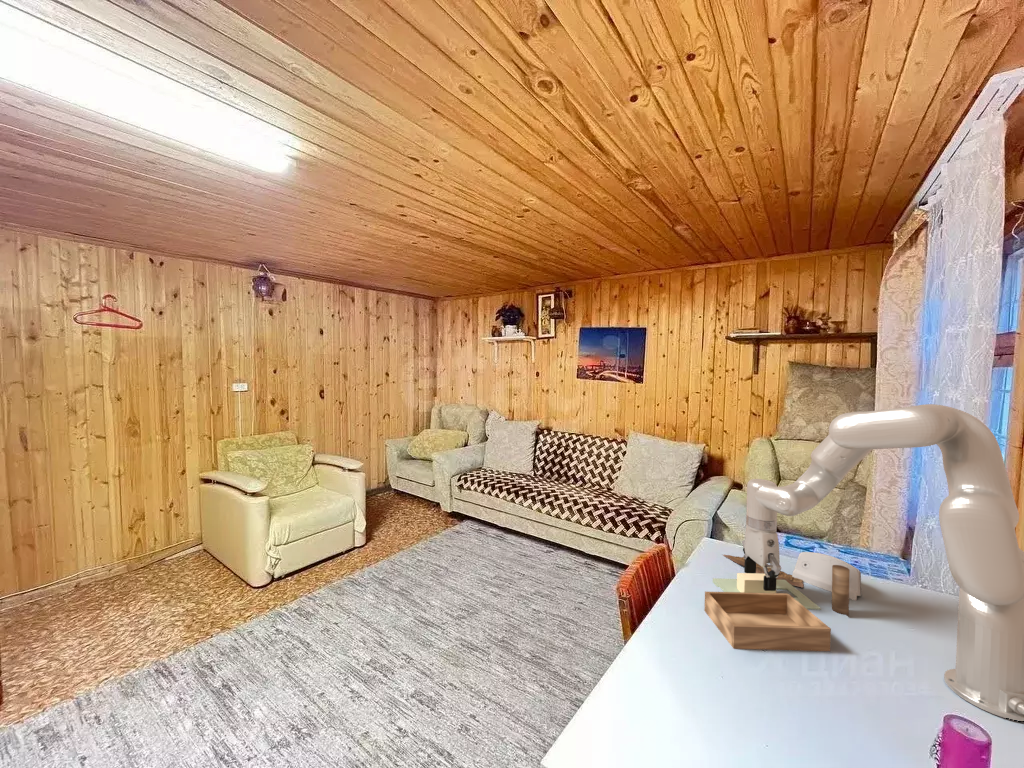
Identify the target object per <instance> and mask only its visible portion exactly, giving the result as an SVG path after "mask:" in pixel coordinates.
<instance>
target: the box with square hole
mask: <svg viewBox="0 0 1024 768" xmlns="http://www.w3.org/2000/svg"><path fill="white" fill-rule="evenodd" d="M703 611H704V612H705V613H706V615H707V616H708V617H709V619H710V620H711V622H712V623H713V624H714V625H715V627H716V628H717V629H718V630H719V632H720V634H721V635H722V636H723V637H724V638H725V640H727V642H728V644H729V645H730V646H731V648H732V649H733V650H735V649H738V650H764V651H766V650H767V651H768V650H769V651H771V650H772V651H773V650H774V651H807V652H808V651H809V652H810V651H811V652H814V651H815V652H831V633H832V628H830V627H829V626H828V625H827V624H826V623H824V622H823V621H822V620H821V619H820V618H818V617H817V616H816V615H815V614H814V613H813V612H811V611H810V609H806V608H805V607H804V606H803V605H801V604H800V603H799V602H798V601H797V600H795V599H794V598H793V596H792V594H789V593H786V592H785V593H784V592H783V593H782V592H781V593H780V592H776V593H747V592H724V591H704V609H703Z"/></svg>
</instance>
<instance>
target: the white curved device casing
mask: <svg viewBox="0 0 1024 768" xmlns="http://www.w3.org/2000/svg"><path fill="white" fill-rule="evenodd" d="M833 565H840V566H844V567H847V568H848V569H849V600H852V601H855V602H856V601H857V599H858V597H862V576H861V575H862V573H861V571H860V570H859V568H858V567H856V566H854V565H852V564H850V563H848V562H846V561H844V560H842V559H839V558H837V557H835V556H832V555H829V554H825V553H819V552H813V551H812V552H811V551H802V552H800V553H799V555H798V557H797V560H796V564H795V566H794V570H793V571H792V574H791V575H792V577H794V578H798V579H801V580H803V582H802V583H806V584H808V585H811V586H813V587H816V588H819V589H822V590H824V591H826V592H831V593H832V566H833Z"/></svg>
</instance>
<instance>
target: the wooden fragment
mask: <svg viewBox="0 0 1024 768" xmlns="http://www.w3.org/2000/svg"><path fill="white" fill-rule="evenodd" d="M722 556H723V557H725V558H726V559H729V560H730V561H732V562H733V563H736V564H738V565H740V566H741V567H743V568H744V564H745V560H746V559H744V556H742V557H741V556H734V555H729V554H722ZM766 565H769V563H767V564H766ZM767 569H768V572H770V571H771V568H767ZM756 573H759V574H765V572H764V569H763V567H762V566H760V565H759V564H757V563H756ZM776 580H786V581H787V582H788V583H789V584H791V585H792V586H793V587H800V588H802V589H804V587H805V584H804V582H803V580H801V579H798V578H794V577H792V574H787V573H786V572H785V571H783V570H781V571H780V574H779V575H778V578H776Z"/></svg>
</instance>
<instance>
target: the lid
mask: <svg viewBox="0 0 1024 768" xmlns="http://www.w3.org/2000/svg"><path fill="white" fill-rule="evenodd" d="M764 576H766V575H765V574H759V573H745V572H738V573H736V578H719V577H718V578H716V577H715V578H714V577H713V578H712V584H714V585H715V586H716V588H720V589H721V590H722V592H747V593H777V591H778V590H783V591H784V590H785V591H786V590H787V591H788V592H789V593H790V594H791V595H793V596H794V597H793V596H792V597H793V598H794V599H795V600H797V601H798V602H799V603H800V604H801V605H803V606H804V607H805V608H806V609H807V610H819V611H820V610H822V609H821V607H820V606H819V605H817V604H816V603H815V602H813V600H811V599H810V598H809V597H807V596H806V595H805V594H804V593H802V592H801V591H800V590H799V589H797V588H796V586H793V585H791V584H789V583H788V582H787V581H786V580H776V591H765V590H764V589H763V584H764Z"/></svg>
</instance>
